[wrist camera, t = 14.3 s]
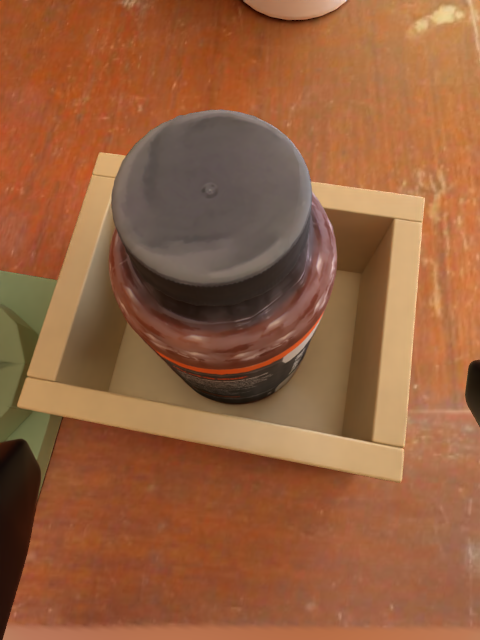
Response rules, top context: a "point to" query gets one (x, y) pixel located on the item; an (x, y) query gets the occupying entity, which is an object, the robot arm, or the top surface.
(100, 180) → the shallow tan tray box
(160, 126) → the supplement bottle
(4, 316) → the control block
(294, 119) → the top surface
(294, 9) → the mug
